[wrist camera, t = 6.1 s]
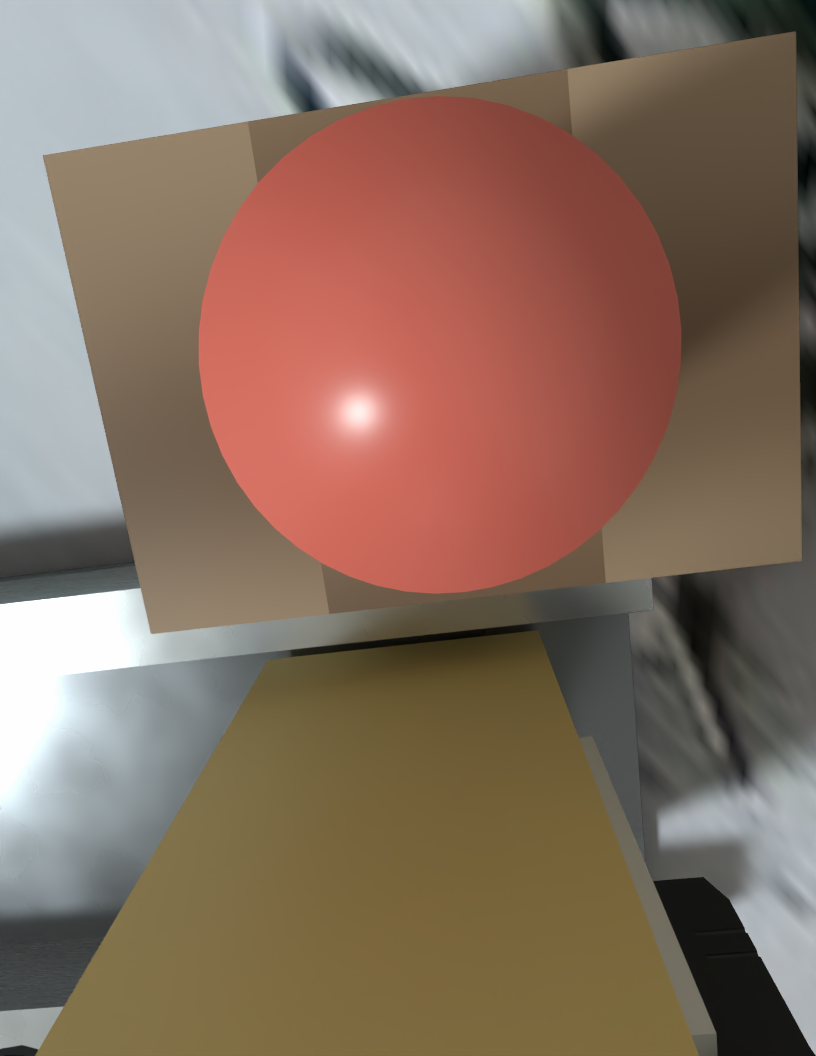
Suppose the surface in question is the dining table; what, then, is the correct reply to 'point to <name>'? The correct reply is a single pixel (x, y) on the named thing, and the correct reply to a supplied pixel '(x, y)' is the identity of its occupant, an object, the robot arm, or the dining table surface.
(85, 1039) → the carriage
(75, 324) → the dining table surface
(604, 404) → the ball
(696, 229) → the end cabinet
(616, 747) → the track
